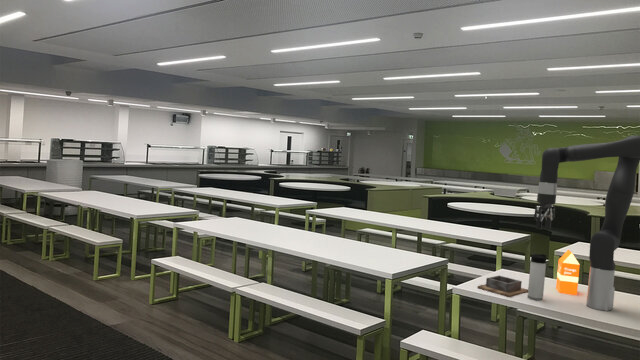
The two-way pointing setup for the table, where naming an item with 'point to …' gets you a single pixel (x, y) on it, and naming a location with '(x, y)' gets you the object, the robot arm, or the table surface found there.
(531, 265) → the travel mug
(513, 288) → the grey tray on board
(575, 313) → the table surface
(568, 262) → the orange juice
